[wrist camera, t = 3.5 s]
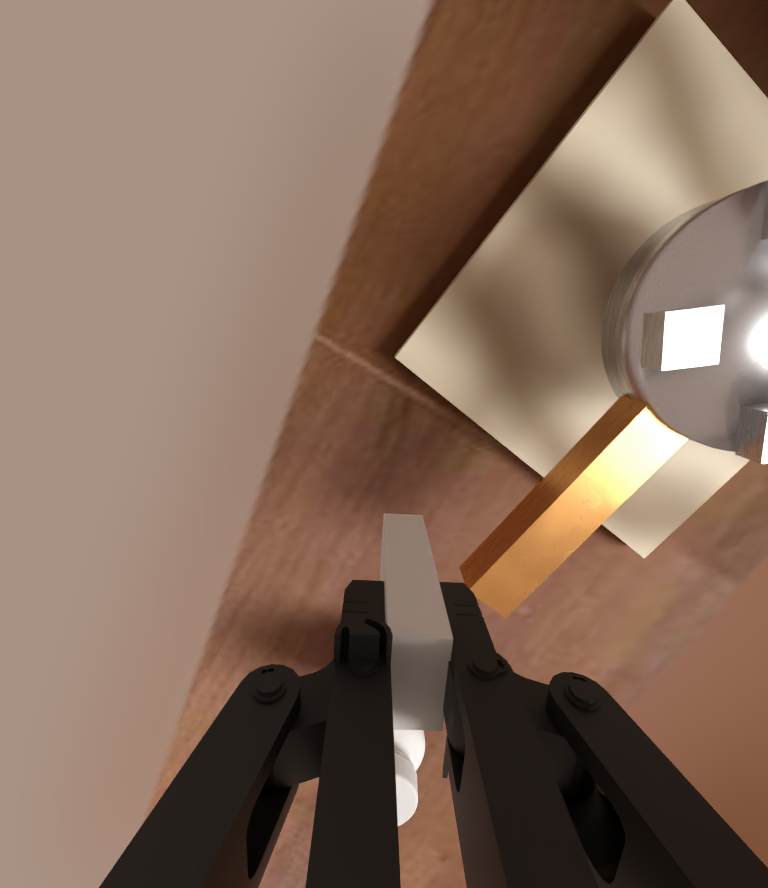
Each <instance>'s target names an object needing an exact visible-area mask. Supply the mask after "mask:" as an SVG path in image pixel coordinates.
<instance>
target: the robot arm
mask: <svg viewBox="0 0 768 888" xmlns="http://www.w3.org/2000/svg"><path fill="white" fill-rule="evenodd" d="M444 718H445V723H446V729H447V738H446V747H445V755H444V763H443V777H442V778H447V775H448V772H449V778H450V784H451V791H452V797H453V803H454V810H455V816H456V822H457V828H458V835H459V841H460V847H461V853H462V860H463V866H464V872H465V878H466V885H467V888H768V868H767V867H766V866H765V865H764V864H763V862H762V861H761V860H760V859H759V858H758V857H757V856H756V855H755V854H754V852H752V850H751V849H750V848H749V847H748V846H747V845H746V844H745V843H744V842H743V840H741V838H740V837H739V836H738V835H737V834H736V833H735V832H734V831H733V829H731V827H730V826H729V825H728V824H727V823H726V822H725V821H724V820H723V819H722V817H721V816H720V815H719V814H718V813H717V812H716V811H715V810H714V809H713V807H712V806H711V805H710V804H709V803H708V802H707V801H706V800H705V799H704V798H703V797H702V795H701V794H700V793H699V792H698V791H697V790H696V789H695V788H694V787H693V786H692V785H691V783H690V782H689V781H688V780H687V779H686V778H685V777H684V776H683V775H682V773H681V772H680V771H679V770H678V769H677V768H676V767H675V766H674V765H673V764H672V762H671V761H670V760H669V759H668V758H667V757H666V756H665V755H664V754H663V753H662V751H661V750H660V749H659V748H658V747H657V746H656V745H655V744H654V743H653V742H652V741H651V739H650V738H649V737H648V736H647V735H646V734H645V733H644V732H643V731H642V730H641V728H640V727H639V726H638V725H637V724H636V723H635V722H634V721H633V720H632V719H631V718H630V716H629V715H628V714H627V713H626V712H625V711H624V710H623V709H622V708H621V706H620V705H619V704H618V703H617V702H616V701H615V700H614V699H613V698H612V697H611V695H610V694H609V693H608V692H607V691H606V690H605V689H604V688H602V687H601V686H600V685H599V684H598V683H597V682H595V681H593V680H591V679H589V678H588V677H586V676H583V675H580V674H576V673H573V672H562V673H559V674H557V675H555V676H553V678H552V680H551V681H550V684H549V685H547V684H543V683H540V682H537V681H533V680H530V679H527V678H524V677H522V676H519V675H518V674H516V673H514V672H513V670H512V668H511V667H510V665H509V664H508V662H507V660H505V659H504V658H503V657H502V656H501V655H499V654H498V653H496V651H495V648H494V646H493V643H492V640H491V638H490V635H489V632H488V630H487V627H486V624H485V621H484V619H483V617H482V613H481V611H480V608H479V607H478V603H477V600H476V597H475V594H474V593H473V592H472V591H471V590H470V589H469V588H468V587H467V586H466V585H465V584H464V583H450V582H439V579H438V575H437V571H436V567H435V563H434V559H433V555H432V551H431V547H430V543H429V539H428V535H427V531H426V527H425V523H424V519H423V515H408V514H385V513H384V517H383V534H382V550H381V567H380V581H368V580H352V582H351V583H350V584H349V585H348V586H347V588H346V589H345V593H344V602H343V610H342V618H341V624H340V625H338V627H337V629H336V632H335V641H334V659H333V660H332V662H331V663H329V664H328V665H327V666H326V667H325V668H323V669H321V670H320V671H317V672H314V673H311V674H308V675H304V676H300V677H299V676H298V675H297V674H296V673H295V671H294V670H293V669H291V668H289V667H287V666H284V665H275V664H271V665H267V666H263V667H259V668H258V669H256V670H254V671H252V672H250V673H249V674H248V675H247V676H246V677H245V678H244V679H243V680H242V681H241V683H240V684H239V686H238V687H237V688H236V690H235V691H234V693H233V694H232V696H231V697H230V699H229V700H228V702H227V703H226V704H225V706H224V707H223V709H222V710H221V712H220V713H219V715H218V716H217V717H216V719H215V720H214V722H213V723H212V725H211V726H210V728H209V729H208V730H207V732H206V733H205V735H204V736H203V738H202V739H201V741H200V742H199V744H198V745H197V746H196V748H195V749H194V751H193V752H192V754H191V755H190V757H189V758H188V759H187V761H186V762H185V764H184V765H183V767H182V768H181V770H180V771H179V773H178V774H177V775H176V777H175V778H174V780H173V781H172V783H171V784H170V786H169V787H168V788H167V790H166V791H165V793H164V794H163V796H162V797H161V799H160V800H159V802H158V803H157V804H156V806H155V807H154V809H153V810H152V812H151V813H150V815H149V816H148V817H147V819H146V820H145V822H144V823H143V825H142V826H141V828H140V829H139V831H138V832H137V833H136V835H135V836H134V838H133V839H132V841H131V842H130V844H129V845H128V846H127V848H126V849H125V851H124V852H123V854H122V855H121V857H120V858H119V860H118V861H117V862H116V864H115V865H114V867H113V869H112V870H111V871H110V873H109V874H108V876H107V877H106V878H105V880H104V881H103V883H102V884H101V886H100V887H99V888H258V887H259V884H260V882H261V879H262V877H263V874H264V872H265V869H266V867H267V864H268V862H269V859H270V857H271V854H272V852H273V849H274V847H275V844H276V842H277V839H278V837H279V834H280V832H281V829H282V827H283V824H284V822H285V819H286V817H287V814H288V812H289V809H290V807H291V804H292V802H293V799H294V797H295V794H296V792H297V789H298V786H299V783H302V782H305V781H308V780H311V779H314V778H317V777H319V785H318V793H317V801H316V809H315V817H314V825H313V833H312V841H311V849H310V857H309V865H308V873H307V880H306V888H401V887H400V864H399V842H398V819H397V797H396V774H395V752H394V729H395V730H431V731H442V728H443V720H444Z"/></svg>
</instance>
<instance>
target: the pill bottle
mask: <svg viewBox="0 0 768 888" xmlns="http://www.w3.org/2000/svg"><path fill="white" fill-rule="evenodd" d="M424 751H425V737H424V730H395V729H394V752H395V774H396V797H397V819H398V826H400V825H402V824H403V823H405V822H406V821H407V820H409V819H410V818H411V816H412V815H413V814H414V812H415V810H416V807H417V803H418V791H417V774H416V770H417V769H418V767H419V765H420V764H421V762H422V759H423V756H424Z"/></svg>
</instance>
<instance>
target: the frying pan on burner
mask: <svg viewBox="0 0 768 888" xmlns="http://www.w3.org/2000/svg"><path fill="white" fill-rule="evenodd" d="M601 349H602V358H603V364H604V369H605V372H606V375H607V378H608V381H609V383H610V385H611V387H612V389H613V391H614V393H615V394H616V395H617V397H618V398H619V399H618V400H617V401H616V402H615V403H614V404H613V405H612V406H611V407H610V408H609V409H608V410H607V412H606V413H605V414H604V415H603V416H602V417H601V418H600V419H599V420H598V421H597V422H596V423H595V424H594V425H593V426H592V427H591V428H590V430H589V431H588V432H587V433H586V434H585V435H584V436H583V437H582V438H581V439H580V440H579V441H578V442H577V443H576V444H575V445H574V446H573V448H572V449H571V450H570V451H569V452H568V453H567V454H566V455H565V456H564V457H563V458H562V459H561V460H560V461H559V462H558V463H557V464H556V465H555V467H554V468H553V469H552V470H551V471H550V472H549V473H548V474H547V475H546V476H545V477H544V478H543V479H542V480H541V481H540V482H539V483H538V485H537V486H536V487H535V488H534V489H533V490H532V491H531V492H530V493H529V494H528V495H527V496H526V497H525V498H524V499H523V500H522V501H521V503H520V504H519V505H518V506H517V507H516V508H515V509H514V510H513V511H512V512H511V513H510V514H509V515H508V516H507V517H506V518H505V519H504V521H503V522H502V523H501V524H500V525H499V526H498V527H497V528H496V529H495V530H494V531H493V532H492V533H491V534H490V535H489V536H488V537H487V539H486V540H485V541H484V542H483V543H482V544H481V545H480V546H479V547H478V548H477V549H476V550H475V551H474V552H473V553H472V554H471V555H470V557H469V558H468V559H467V560H466V561H465V562H464V563H463V564H462V565H461V566H460V570H461V573H462V576H463V579H464V582H465V585H466V586H467V587H468V588H469V589H470V590H471V591H472V592H473V593H474V594H475V597H476V598H478V599H479V600H481V601H482V602H483V603H485V604H486V605H488V606H489V607H490V608H492V609H493V610H495V611H496V612H498V613H499V614H500V615H502V616H503V617H505V618H507V617H508V616H509V615H510V614H511V613H512V612H513V611H514V610H515V609H516V608H517V607H518V606H519V605H520V604H521V603H522V602H523V601H524V600H525V599H526V598H527V597H528V596H529V595H530V594H531V593H532V592H533V591H534V590H535V589H536V588H537V587H538V586H539V585H540V584H541V583H542V582H543V581H544V580H545V579H546V578H547V577H548V576H549V575H550V574H551V573H552V572H553V571H554V570H555V569H556V568H557V567H558V566H559V565H560V564H561V563H562V562H563V561H564V560H566V559H567V558H568V557H569V556H570V555H571V554H572V553H573V552H574V551H575V550H576V549H577V548H578V547H579V546H580V545H581V544H582V543H583V542H584V541H585V540H586V539H587V538H588V537H589V536H590V535H591V534H592V533H593V532H594V531H595V530H596V529H597V528H598V527H599V526H600V525H601V524H602V523H603V522H604V521H605V520H606V519H607V518H608V517H609V516H610V515H611V514H612V513H613V512H614V511H615V510H616V509H617V508H618V507H619V506H620V505H621V504H622V503H623V502H625V501H626V500H627V499H628V498H629V497H630V496H631V495H632V494H633V493H634V492H635V491H636V490H637V489H638V488H639V487H640V486H641V485H642V484H643V483H644V482H645V481H646V480H647V479H648V478H649V477H650V476H651V475H652V474H653V473H654V472H655V471H656V470H657V469H658V468H659V467H660V466H661V465H662V464H663V463H664V462H665V461H666V460H667V459H668V458H669V457H670V456H671V455H672V454H673V453H674V452H675V451H676V450H677V449H678V448H679V447H680V446H681V445H683V444H684V443H685V442H686V441H687V440H688V439H689V440H692V441H695V442H698V443H700V444H703V445H706V446H709V447H711V448H715V449H720V450H724V451H731V452H735V455H738V456H741V457H743V458H746V459H749V460H752V461H755V462H757V463H760V464H765V463H768V180H767V181H764V182H761V183H758V184H755V185H753V186H750V187H748V188H745V189H742V190H740V191H737V192H735V193H732V194H729V195H727V196H724V197H721V198H719V199H716V200H714V201H711V202H708V203H706V204H703V205H700V206H698V207H695V208H693V209H691V210H689V211H687V212H685V213H683V214H681V215H679V216H677V217H676V218H674V219H673V220H671V221H669V222H668V223H666V224H665V225H663V226H662V227H661V228H660V229H659V230H657V231H656V232H655V233H654V234H652V235H651V236H650V237H649V238H648V239H647V240H646V241H645V242H644V243H643V244H642V245H641V246H640V247H639V248H638V250H637V251H636V252H635V253H634V255H633V256H632V257H631V259H630V260H629V261H628V262H627V264H626V266H625V267H624V269H623V270H622V272H621V274H620V275H619V277H618V279H617V281H616V283H615V285H614V287H613V289H612V292H611V294H610V297H609V300H608V303H607V306H606V309H605V314H604V319H603V323H602V334H601Z"/></svg>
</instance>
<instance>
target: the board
mask: <svg viewBox="0 0 768 888" xmlns="http://www.w3.org/2000/svg"><path fill="white" fill-rule="evenodd" d="M767 180H768V98H767V97H766V96H765V94H764V93H763V92H762V91H761V90H760V89H759V87H758V86H757V85H756V84H755V83H754V81H753V80H752V79H751V78H750V77H749V75H748V74H747V73H746V72H745V71H744V69H743V68H742V67H741V66H740V65H739V64H738V62H737V61H736V60H735V59H734V58H733V56H732V55H731V54H730V53H729V52H728V50H727V49H726V48H725V47H724V46H723V45H722V43H721V42H720V41H719V40H718V39H717V37H716V36H715V35H714V34H713V33H712V31H711V30H710V29H709V28H708V27H707V25H706V24H705V23H704V22H703V21H702V20H701V18H700V17H699V16H698V15H697V14H696V12H695V11H694V10H693V9H692V8H691V6H690V5H689V4H688V3H687V2H686V1H685V0H672V1H671V2H670V3H669V4H668V5H667V7H666V8H665V9H664V10H663V11H662V12H661V13H660V14H659V15H658V17H657V18H656V19H655V20H654V22H653V23H652V24H651V26H650V27H649V28H648V29H647V31H646V32H645V33H644V35H643V36H642V37H641V38H640V40H639V41H638V42H637V44H636V45H635V46H634V47H633V49H632V50H631V51H630V53H629V54H628V55H627V56H626V58H625V59H624V60H623V62H622V63H621V64H620V65H619V67H618V68H617V69H616V71H615V72H614V73H613V74H612V76H611V77H610V78H609V80H608V81H607V82H606V84H605V85H604V86H603V87H602V89H601V90H600V91H599V93H598V94H597V95H596V96H595V98H594V99H593V100H592V102H591V103H590V104H589V105H588V107H587V108H586V109H585V111H584V112H583V113H582V114H581V116H580V117H579V118H578V120H577V121H576V122H575V123H574V125H573V126H572V127H571V129H570V130H569V131H568V132H567V134H566V135H565V136H564V138H563V139H562V140H561V142H560V143H559V144H558V145H557V147H556V148H555V149H554V151H553V152H552V153H551V154H550V156H549V157H548V158H547V160H546V161H545V162H544V163H543V165H542V166H541V167H540V169H539V170H538V171H537V172H536V174H535V175H534V176H533V178H532V179H531V180H530V181H529V183H528V184H527V185H526V187H525V188H524V189H523V191H522V192H521V193H520V194H519V196H518V197H517V198H516V200H515V201H514V202H513V203H512V205H511V206H510V207H509V209H508V210H507V211H506V212H505V214H504V215H503V216H502V218H501V219H500V220H499V221H498V223H497V224H496V225H495V227H494V228H493V229H492V230H491V232H490V233H489V234H488V236H487V237H486V238H485V239H484V241H483V242H482V243H481V245H480V246H479V247H478V249H477V250H476V251H475V252H474V254H473V255H472V256H471V258H470V259H469V260H468V261H467V263H466V264H465V265H464V267H463V268H462V269H461V270H460V272H459V273H458V274H457V276H456V277H455V278H454V279H453V281H452V282H451V283H450V285H449V286H448V287H447V288H446V290H445V291H444V292H443V294H442V295H441V296H440V297H439V299H438V300H437V301H436V303H435V304H434V305H433V307H432V308H431V309H430V310H429V312H428V313H427V314H426V316H425V317H424V318H423V319H422V321H421V322H420V323H419V325H418V326H417V327H416V328H415V330H414V331H413V332H412V334H411V335H410V336H409V337H408V339H407V340H406V341H405V343H404V344H403V345H402V346H401V348H400V349H399V350H398V352H397V353H396V354H395V355H394V357H395V358H396V359H397V360H398V361H400V362H401V363H402V364H403V365H405V366H406V367H407V368H408V369H410V370H411V371H412V372H413V373H415V374H416V375H417V376H418V377H420V378H421V379H422V380H423V381H424V382H426V383H427V384H428V385H429V386H431V387H432V388H433V389H434V390H436V391H437V392H438V393H439V394H441V395H442V396H443V397H444V398H446V399H447V400H448V401H449V402H451V403H452V404H453V405H454V406H456V407H457V408H458V409H459V410H460V411H462V412H463V413H464V414H465V415H467V416H468V417H469V418H470V419H472V420H473V421H474V422H475V423H477V424H478V425H479V426H480V427H482V428H483V429H484V430H485V431H487V432H488V433H489V434H490V435H492V436H493V437H494V438H495V439H497V440H498V441H499V442H500V443H501V444H503V445H504V446H505V447H506V448H508V449H509V450H510V451H511V452H513V453H514V454H515V455H516V456H518V457H519V458H520V459H521V460H523V461H524V462H525V463H526V464H528V465H529V466H530V467H531V468H533V469H534V470H535V471H536V472H538V473H539V474H540V475H541V476H542V477H545V476H546V475H547V474H548V473H549V472H550V471H551V470H552V469H553V468H554V467H555V465H556V464H557V463H558V462H559V461H560V460H561V459H562V458H563V457H564V456H565V455H566V454H567V453H568V452H569V451H570V450H571V449H572V448H573V446H574V445H575V444H576V443H577V442H578V441H579V440H580V439H581V438H582V437H583V436H584V435H585V434H586V433H587V432H588V431H589V430H590V428H591V427H592V426H593V425H594V424H595V423H596V422H597V421H598V420H599V419H600V418H601V417H602V416H603V415H604V414H605V413H606V412H607V410H608V409H609V408H610V407H611V406H612V405H613V404H614V403H615V402H616V401H617V400H618V399H619V398H618V397H617V395H616V394H615V393H614V391H613V389H612V387H611V385H610V383H609V381H608V378H607V375H606V372H605V369H604V364H603V358H602V349H601V334H602V323H603V319H604V314H605V309H606V306H607V303H608V300H609V297H610V294H611V292H612V289H613V287H614V285H615V283H616V281H617V279H618V277H619V275H620V274H621V272H622V270H623V269H624V267H625V266H626V264H627V262H628V261H629V260H630V259H631V257H632V256H633V255H634V253H635V252H636V251H637V250H638V248H639V247H640V246H641V245H642V244H643V243H644V242H645V241H646V240H647V239H648V238H649V237H650V236H651V235H652V234H654V233H655V232H656V231H657V230H659V229H660V228H661V227H662V226H663V225H665V224H666V223H668V222H669V221H671V220H673V219H674V218H676V217H677V216H679V215H681V214H683V213H685V212H687V211H689V210H691V209H693V208H695V207H698V206H700V205H703V204H706V203H708V202H711V201H714V200H716V199H719V198H721V197H724V196H727V195H729V194H732V193H735V192H737V191H740V190H742V189H745V188H748V187H750V186H753V185H755V184H758V183H761V182H764V181H767ZM748 461H750V460H749V459H746V458H743V457H741V456H738V455H735V452H731V451H724V450H720V449H715V448H711V447H709V446H706V445H703V444H700V443H698V442H695V441H692V440H689V439H688V440H687V441H686V442H685V443H684V444H683V445H681V446H680V447H679V448H678V449H677V450H676V451H675V452H674V453H673V454H672V455H671V456H670V457H669V458H668V459H667V460H666V461H665V462H664V463H663V464H662V465H661V466H660V467H659V468H658V469H657V470H656V471H655V472H654V473H653V474H652V475H651V476H650V477H649V478H648V479H647V480H646V481H645V482H644V483H643V484H642V485H641V486H640V487H639V488H638V489H637V490H636V491H635V492H634V493H633V494H632V495H631V496H630V497H629V498H628V499H627V500H626V501H625V502H623V503H622V504H621V505H620V506H619V507H618V508H617V509H616V510H615V511H614V512H613V513H612V514H611V515H610V516H609V517H608V518H607V519H606V520H605V521H604V522H603V523H602V525H603V526H605V527H606V528H607V529H608V530H610V531H611V532H612V533H613V534H615V535H616V536H617V537H618V538H619V539H621V540H622V541H623V542H624V543H626V544H627V545H628V546H629V547H631V548H632V549H633V550H634V551H636V552H637V553H638V554H639V555H641V556H642V557H643V558H645V557H646V556H647V555H649V554H650V553H651V552H652V551H653V550H654V549H655V548H656V547H657V546H658V545H659V544H660V543H661V542H663V541H664V540H665V539H666V538H667V537H668V536H669V535H670V534H671V533H672V532H673V531H674V530H675V529H676V528H678V527H679V526H680V525H681V524H682V523H683V522H684V521H685V520H686V519H687V518H688V517H689V516H690V515H692V514H693V513H694V512H695V511H696V510H697V509H698V508H699V507H700V506H701V505H702V504H703V503H704V502H705V501H707V500H708V499H709V498H710V497H711V496H712V495H713V494H714V493H715V492H716V491H717V490H718V489H719V488H721V487H722V486H723V485H724V484H725V483H726V482H727V481H728V480H729V479H730V478H731V477H732V476H733V475H734V474H736V473H737V472H738V471H739V470H740V469H741V468H742V467H743V466H744V465H745V464H746V463H747V462H748Z"/></svg>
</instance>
